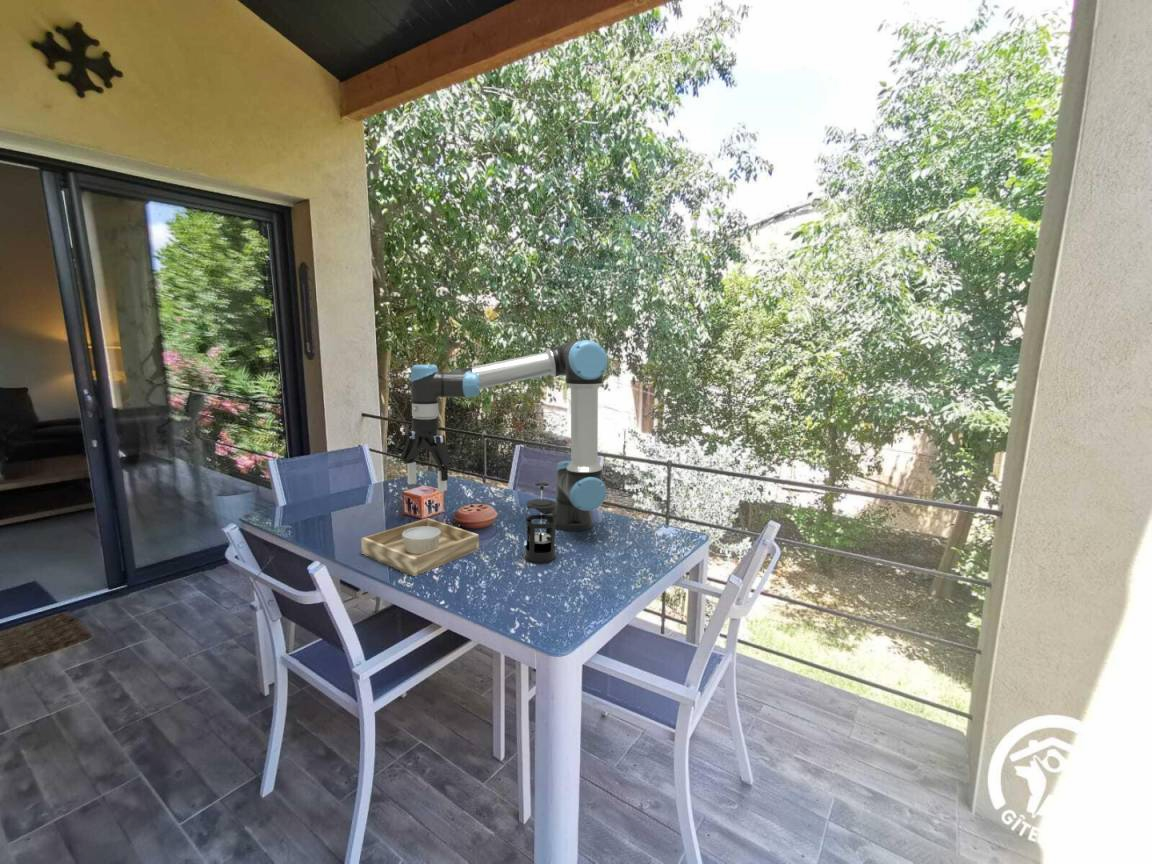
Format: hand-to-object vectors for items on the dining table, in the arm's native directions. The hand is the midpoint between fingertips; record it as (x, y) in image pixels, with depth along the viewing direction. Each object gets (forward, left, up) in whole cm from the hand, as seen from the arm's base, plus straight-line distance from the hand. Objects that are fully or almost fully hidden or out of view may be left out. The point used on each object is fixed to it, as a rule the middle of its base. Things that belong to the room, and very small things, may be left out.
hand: (427, 487), depth 154 cm
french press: (-31, -17, -19) cm, 40 cm away
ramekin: (-1, +3, -18) cm, 19 cm away
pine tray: (-1, +3, -19) cm, 20 cm away
